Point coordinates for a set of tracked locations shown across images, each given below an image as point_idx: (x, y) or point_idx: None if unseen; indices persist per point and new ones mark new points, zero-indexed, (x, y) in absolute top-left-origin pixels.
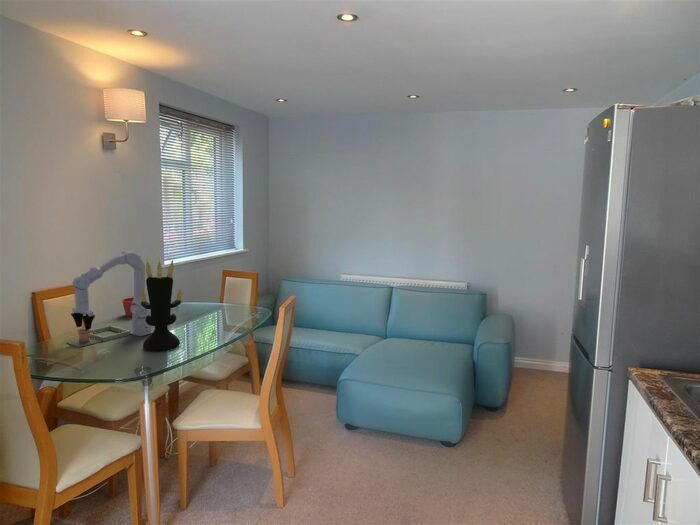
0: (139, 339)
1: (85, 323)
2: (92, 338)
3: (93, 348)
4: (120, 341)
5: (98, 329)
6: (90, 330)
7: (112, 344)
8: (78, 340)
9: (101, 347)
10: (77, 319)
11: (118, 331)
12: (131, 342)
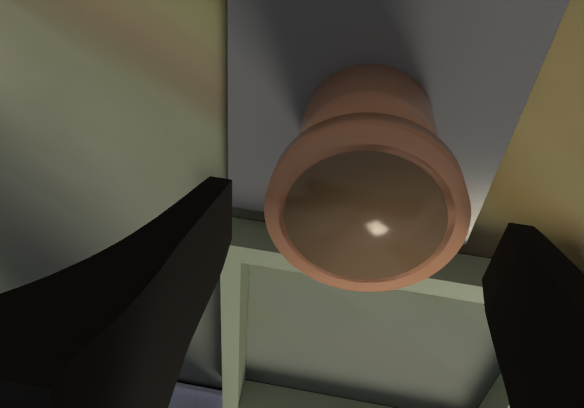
0: None
1: (119, 241)
2: None
3: (78, 15)
4: None
5: None
6: (282, 243)
7: (85, 192)
8: (475, 118)
9: (58, 85)
10: (566, 368)
11: (362, 405)
12: (40, 278)
